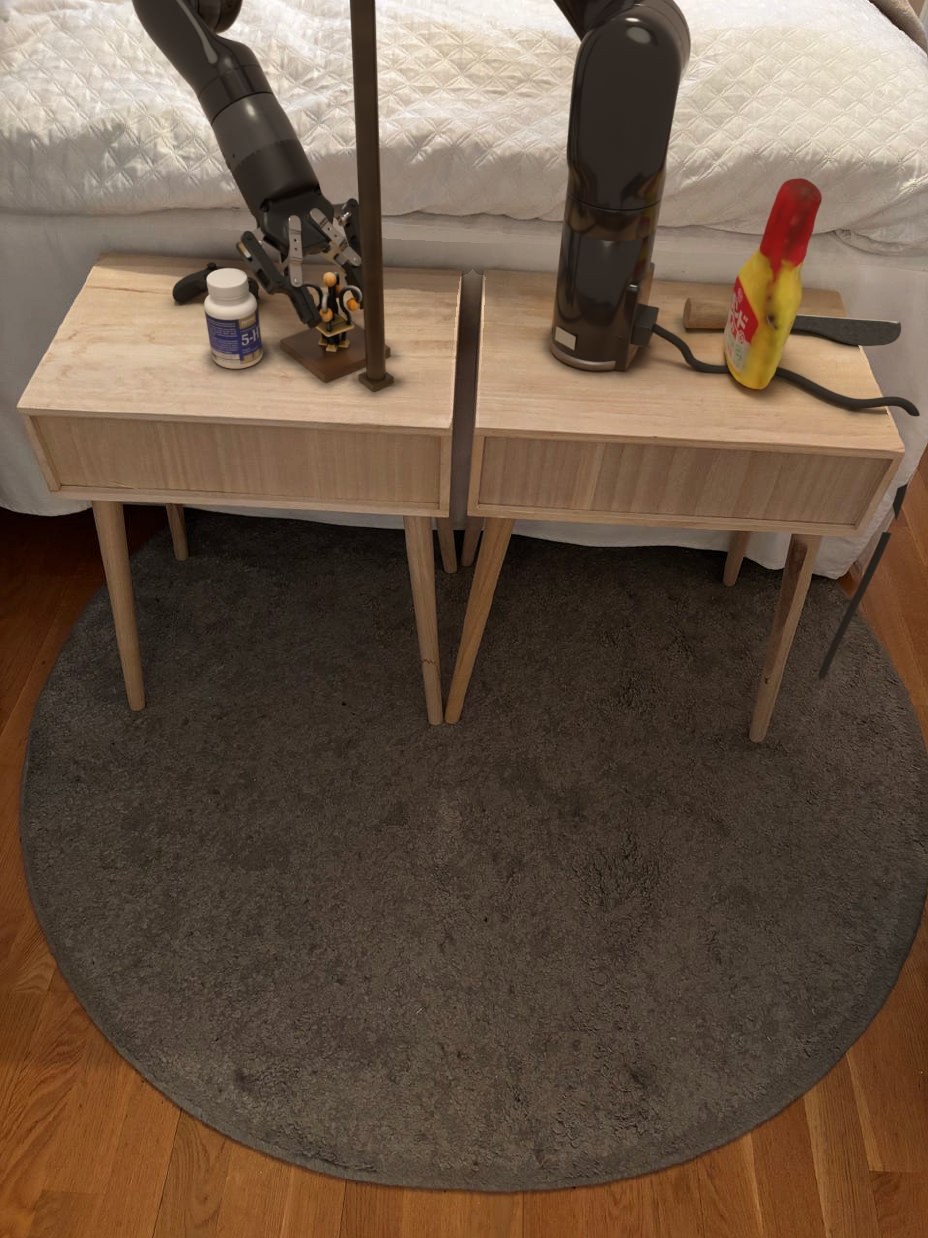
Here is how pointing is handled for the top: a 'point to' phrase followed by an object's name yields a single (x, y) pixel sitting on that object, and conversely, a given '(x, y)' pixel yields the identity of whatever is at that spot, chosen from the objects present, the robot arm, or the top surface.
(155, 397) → the top surface
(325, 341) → the decorative sculpture
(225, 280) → the pill bottle
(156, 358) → the top surface
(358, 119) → the display stand
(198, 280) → the game controller
